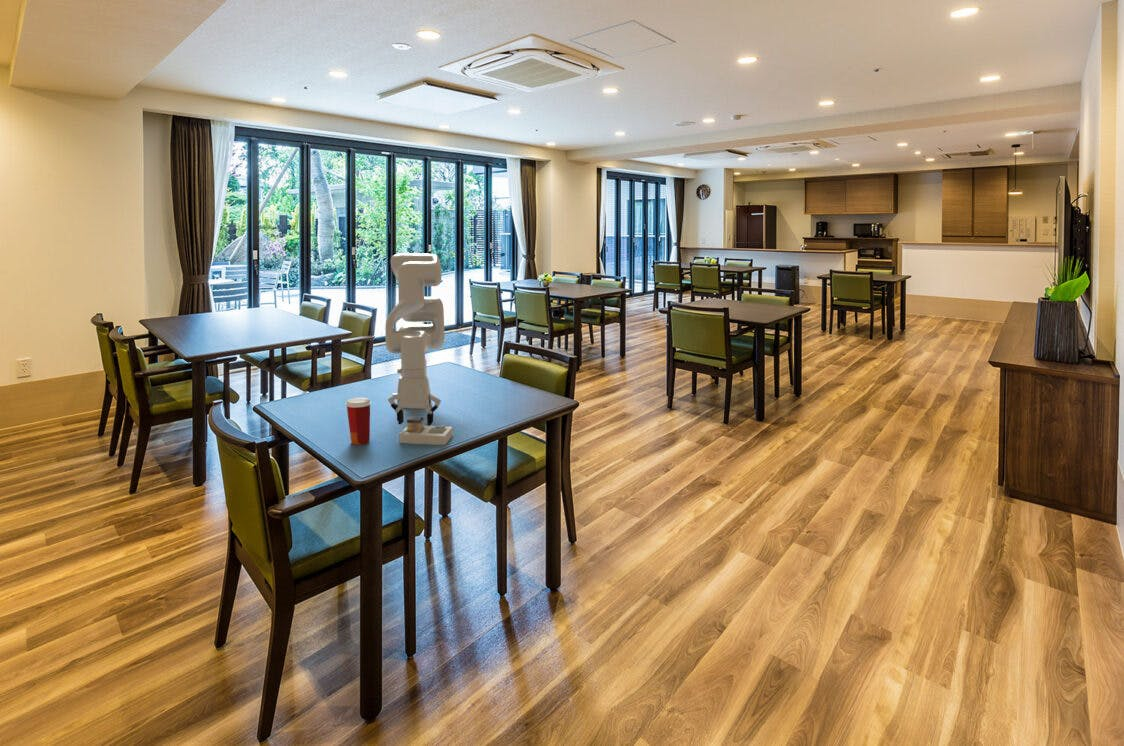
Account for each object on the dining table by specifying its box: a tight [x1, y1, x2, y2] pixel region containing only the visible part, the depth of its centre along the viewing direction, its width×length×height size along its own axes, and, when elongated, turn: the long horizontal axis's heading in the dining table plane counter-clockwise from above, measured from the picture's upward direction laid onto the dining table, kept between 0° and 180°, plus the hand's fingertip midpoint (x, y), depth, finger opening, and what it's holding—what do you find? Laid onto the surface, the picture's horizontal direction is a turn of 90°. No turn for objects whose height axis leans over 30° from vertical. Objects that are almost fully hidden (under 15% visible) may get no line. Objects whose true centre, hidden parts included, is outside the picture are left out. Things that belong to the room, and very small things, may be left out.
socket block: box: [398, 424, 454, 446], centre depth 202 cm, size 15×10×3 cm, turn 85°
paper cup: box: [344, 397, 372, 446], centre depth 197 cm, size 8×8×14 cm
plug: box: [406, 415, 424, 433], centre depth 202 cm, size 4×4×7 cm
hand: (415, 423), depth 202 cm, fingers open, 9 cm apart
